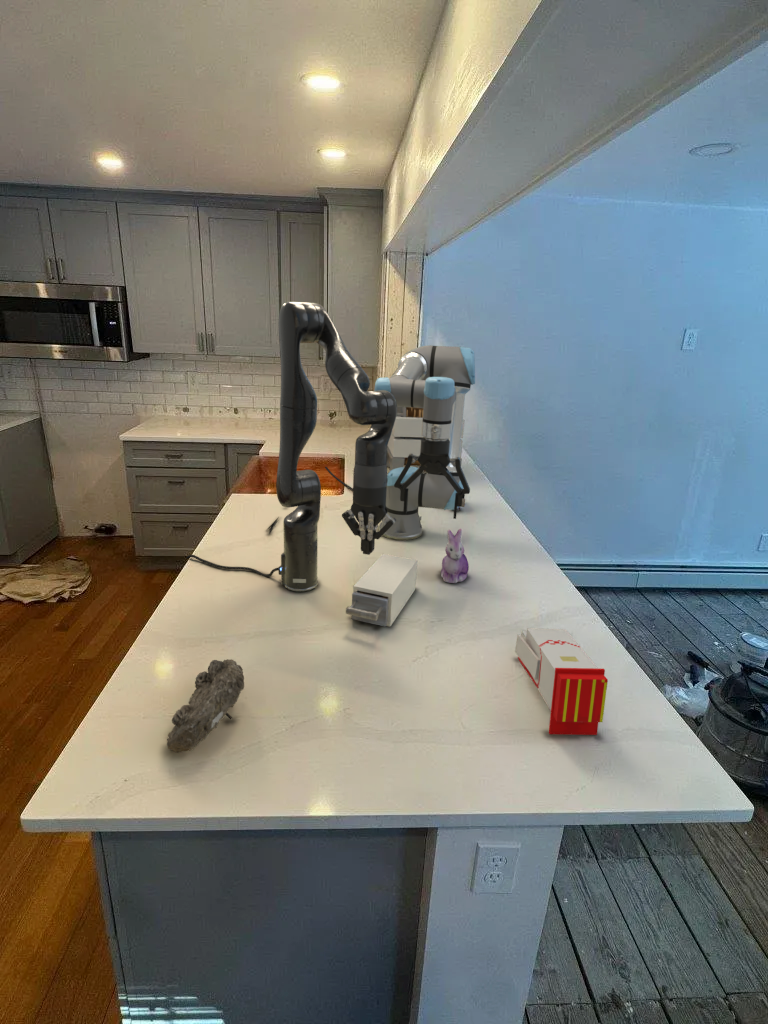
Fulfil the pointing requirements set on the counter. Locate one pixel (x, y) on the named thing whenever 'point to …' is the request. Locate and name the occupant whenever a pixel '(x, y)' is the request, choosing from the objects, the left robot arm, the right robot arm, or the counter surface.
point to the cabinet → (390, 582)
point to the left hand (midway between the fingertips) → (367, 553)
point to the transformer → (408, 437)
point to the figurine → (454, 559)
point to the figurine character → (462, 502)
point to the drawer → (369, 608)
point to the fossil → (206, 705)
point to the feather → (272, 525)
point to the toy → (564, 680)
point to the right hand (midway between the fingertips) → (429, 514)
